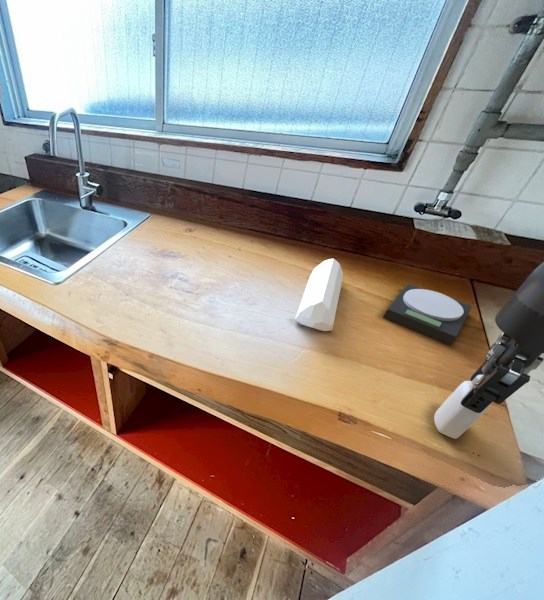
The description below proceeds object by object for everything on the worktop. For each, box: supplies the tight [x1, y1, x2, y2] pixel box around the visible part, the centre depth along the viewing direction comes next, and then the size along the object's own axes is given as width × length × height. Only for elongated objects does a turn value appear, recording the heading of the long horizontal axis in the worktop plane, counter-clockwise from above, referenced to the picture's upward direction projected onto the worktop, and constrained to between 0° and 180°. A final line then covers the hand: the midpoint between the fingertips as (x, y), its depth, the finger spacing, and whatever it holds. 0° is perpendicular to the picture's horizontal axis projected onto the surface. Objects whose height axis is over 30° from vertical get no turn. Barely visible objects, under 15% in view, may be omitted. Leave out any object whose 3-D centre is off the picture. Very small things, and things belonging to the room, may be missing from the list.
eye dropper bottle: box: [433, 375, 491, 440], centre depth 47 cm, size 4×6×12 cm
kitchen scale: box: [382, 283, 473, 346], centre depth 70 cm, size 12×14×3 cm
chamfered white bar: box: [294, 257, 344, 332], centre depth 74 cm, size 7×7×24 cm
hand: (474, 394), depth 46 cm, fingers closed on eye dropper bottle, 5 cm apart
